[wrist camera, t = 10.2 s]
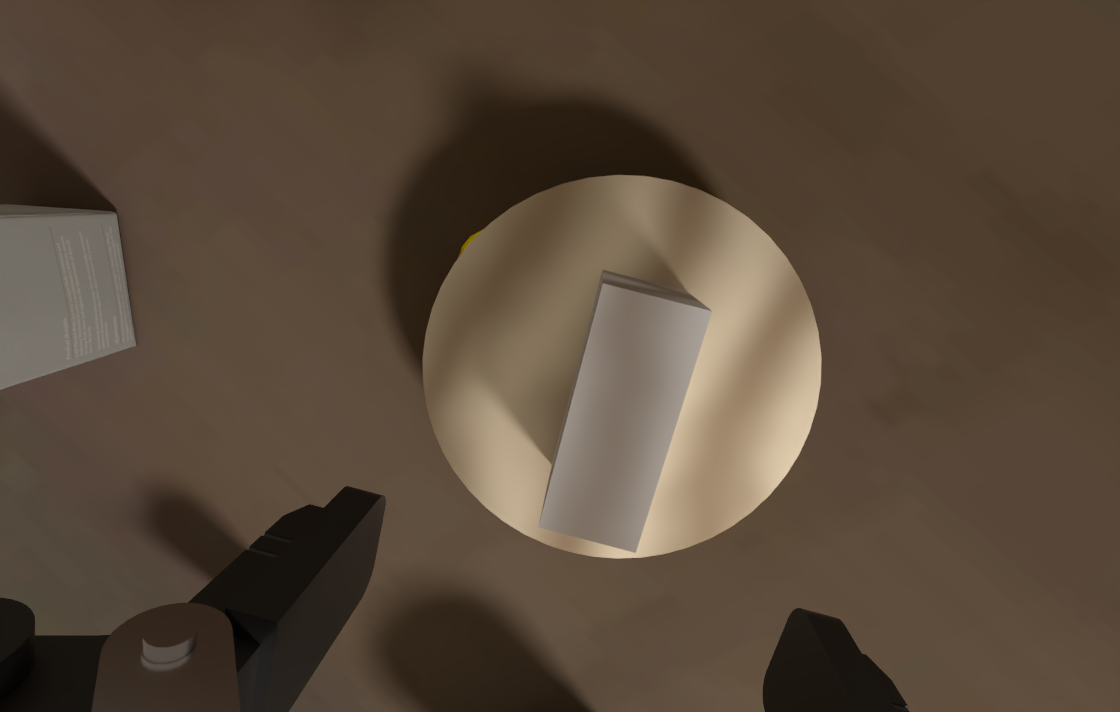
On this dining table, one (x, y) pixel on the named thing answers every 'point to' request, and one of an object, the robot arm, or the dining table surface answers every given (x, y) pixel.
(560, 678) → the dining table surface
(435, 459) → the dining table surface
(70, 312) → the skincare box
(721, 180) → the dining table surface
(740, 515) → the lid
